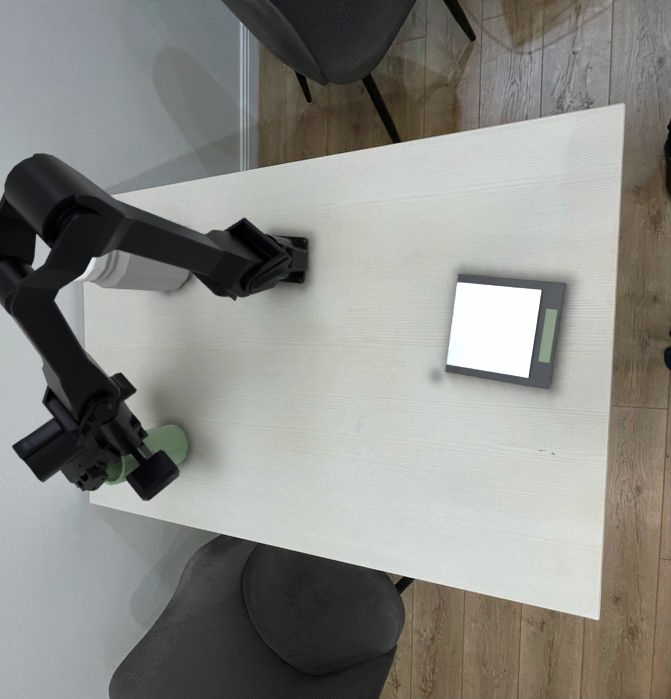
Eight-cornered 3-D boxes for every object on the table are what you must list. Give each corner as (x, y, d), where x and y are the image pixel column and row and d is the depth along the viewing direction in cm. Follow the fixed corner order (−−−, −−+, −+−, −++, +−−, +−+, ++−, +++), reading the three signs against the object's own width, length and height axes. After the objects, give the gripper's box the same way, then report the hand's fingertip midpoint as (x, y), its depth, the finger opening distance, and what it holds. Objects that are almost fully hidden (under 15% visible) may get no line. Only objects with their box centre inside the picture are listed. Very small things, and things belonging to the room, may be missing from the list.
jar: (153, 229, 89) (53, 210, 73) (198, 233, 85) (102, 214, 69) (148, 288, 91) (49, 282, 75) (193, 295, 86) (97, 290, 70)
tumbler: (157, 458, 92) (92, 478, 80) (160, 420, 91) (94, 435, 80) (186, 467, 89) (123, 490, 77) (189, 429, 88) (126, 445, 77)
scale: (449, 370, 68) (443, 372, 65) (461, 274, 66) (456, 273, 64) (550, 387, 62) (547, 390, 60) (566, 283, 61) (564, 282, 59)
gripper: (15, 410, 71) (60, 451, 84) (94, 514, 65) (128, 540, 78) (90, 360, 75) (121, 406, 89) (170, 453, 69) (191, 488, 83)
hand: (138, 458), depth 85 cm, fingers closed on tumbler, 7 cm apart
